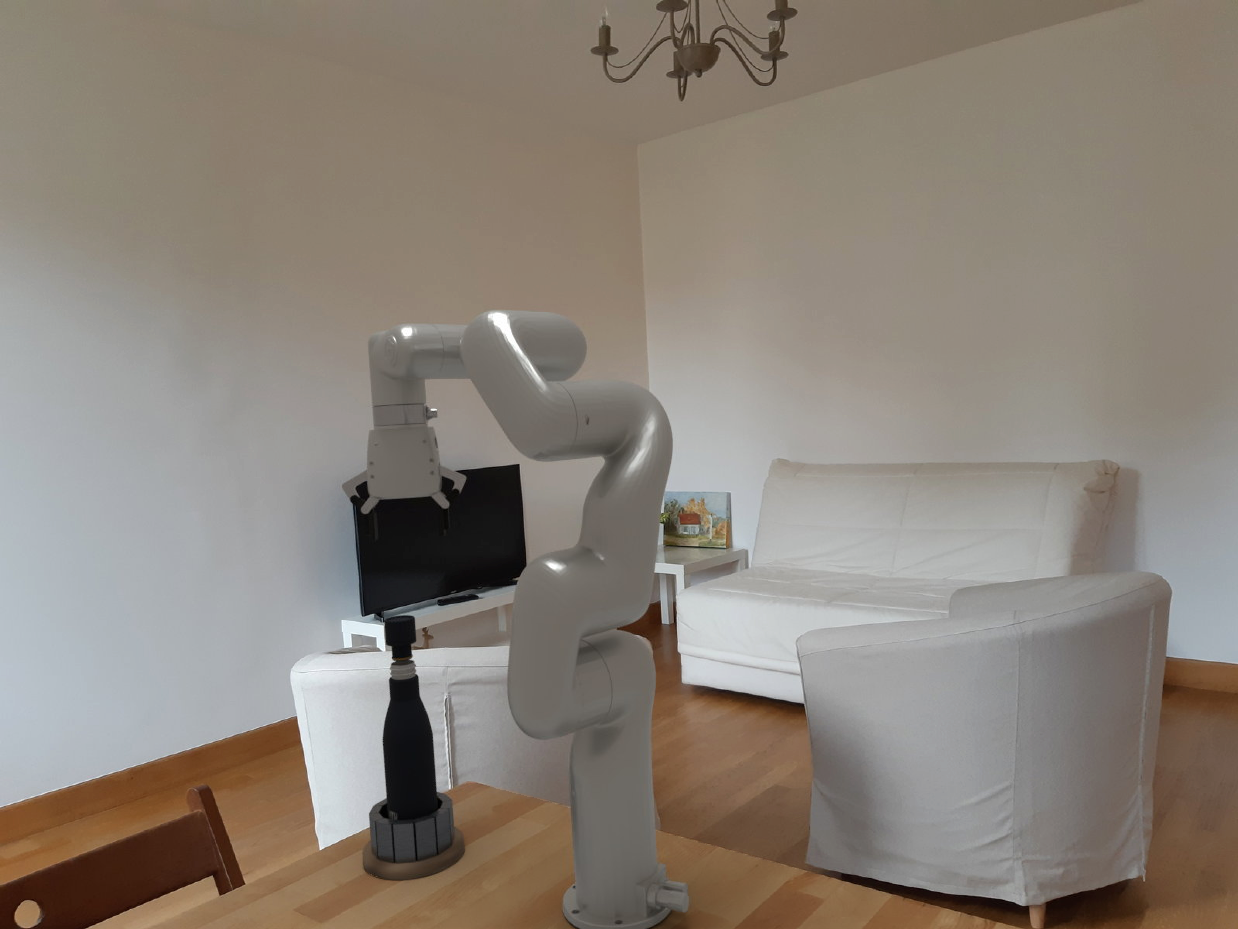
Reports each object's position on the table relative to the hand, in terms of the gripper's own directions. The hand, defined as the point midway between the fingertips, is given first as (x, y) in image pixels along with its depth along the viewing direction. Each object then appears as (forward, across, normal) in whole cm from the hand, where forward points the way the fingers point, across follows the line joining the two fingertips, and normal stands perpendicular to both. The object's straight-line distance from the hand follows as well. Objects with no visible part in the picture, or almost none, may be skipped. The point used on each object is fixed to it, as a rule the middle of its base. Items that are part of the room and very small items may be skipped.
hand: (408, 538), depth 133 cm
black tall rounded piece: (+39, 0, +13) cm, 41 cm away
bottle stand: (+40, +1, +13) cm, 42 cm away
